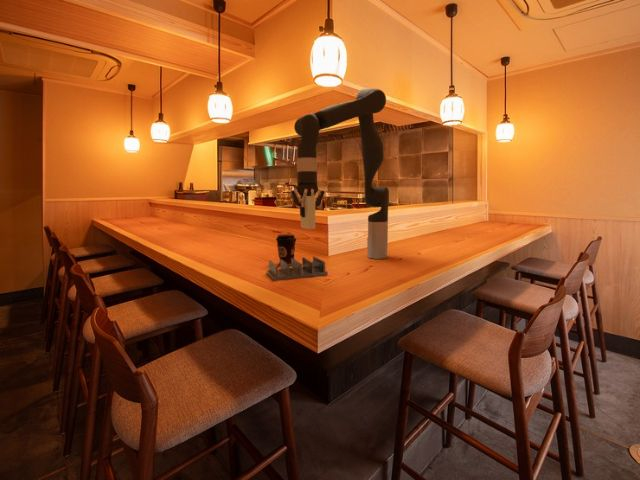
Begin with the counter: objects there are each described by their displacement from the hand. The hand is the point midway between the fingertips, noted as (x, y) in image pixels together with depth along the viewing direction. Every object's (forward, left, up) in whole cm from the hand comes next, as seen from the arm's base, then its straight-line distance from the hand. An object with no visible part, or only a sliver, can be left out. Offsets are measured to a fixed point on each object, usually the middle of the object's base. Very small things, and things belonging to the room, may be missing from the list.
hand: (307, 217), depth 128 cm
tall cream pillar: (0, 0, -4) cm, 4 cm away
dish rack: (-1, -5, -22) cm, 23 cm away
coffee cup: (-20, -4, -22) cm, 30 cm away
